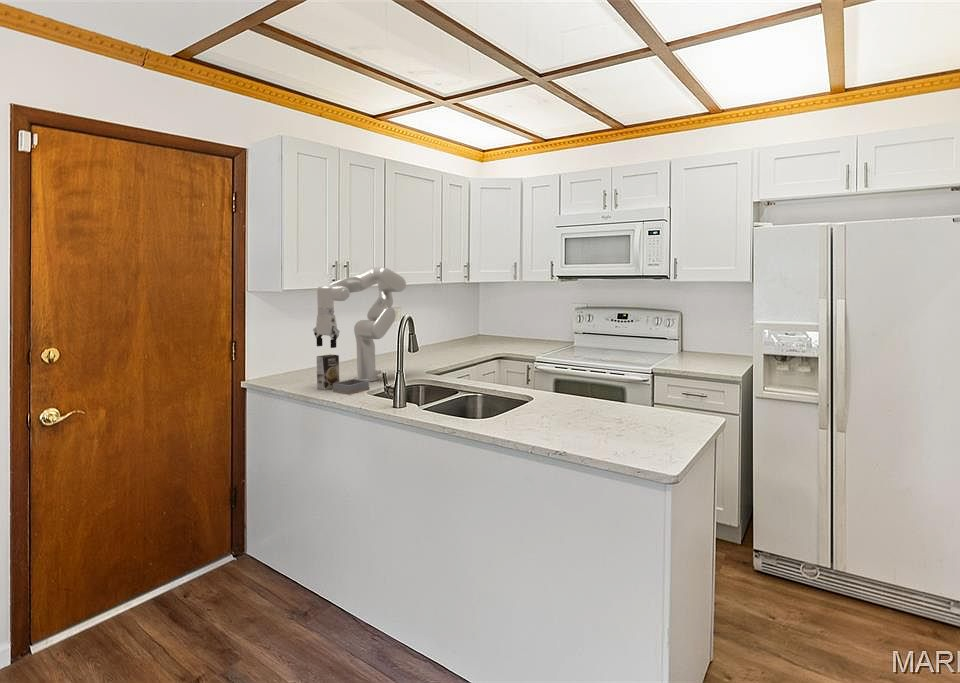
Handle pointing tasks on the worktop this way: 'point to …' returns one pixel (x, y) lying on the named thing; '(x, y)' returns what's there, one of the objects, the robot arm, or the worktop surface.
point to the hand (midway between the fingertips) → (326, 346)
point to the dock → (351, 386)
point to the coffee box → (327, 371)
